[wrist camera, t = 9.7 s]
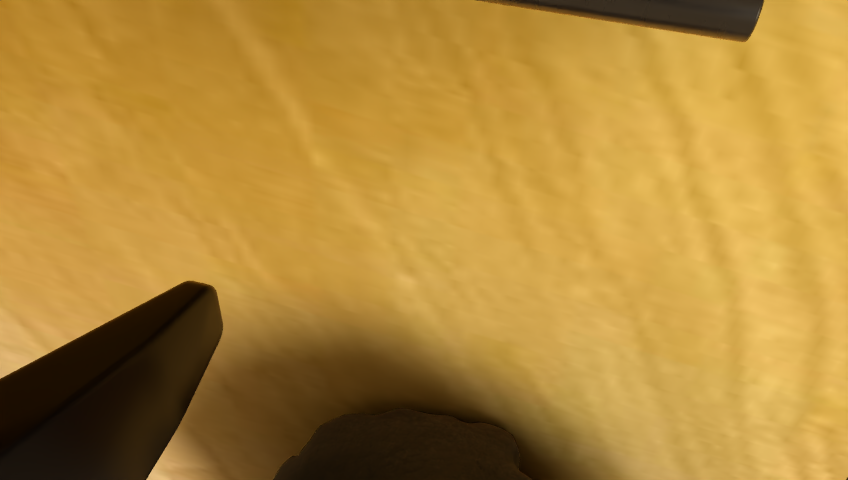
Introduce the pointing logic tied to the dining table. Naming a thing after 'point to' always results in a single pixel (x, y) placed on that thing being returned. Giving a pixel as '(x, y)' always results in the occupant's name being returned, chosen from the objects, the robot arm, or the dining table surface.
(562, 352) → the dining table surface
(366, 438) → the stone bowl
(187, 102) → the dining table surface
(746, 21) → the drawer
